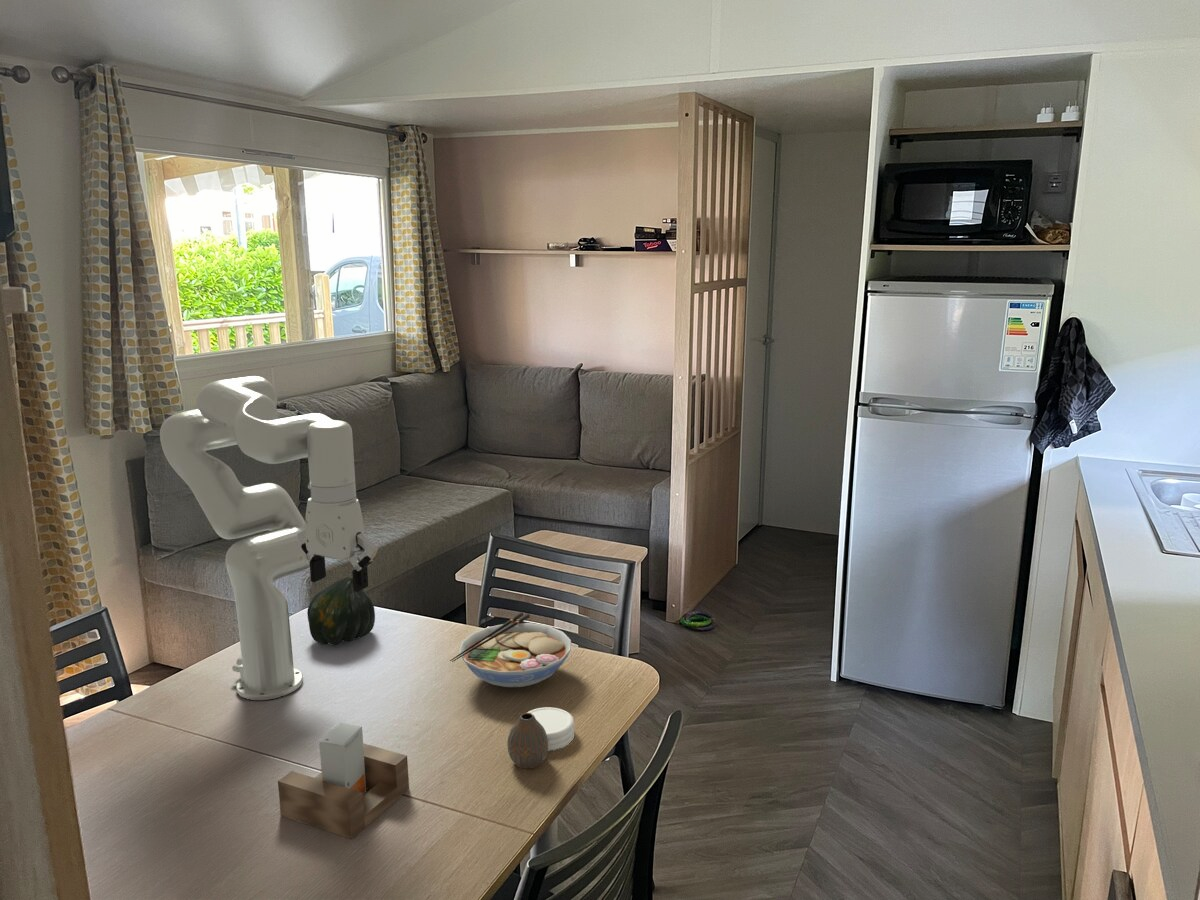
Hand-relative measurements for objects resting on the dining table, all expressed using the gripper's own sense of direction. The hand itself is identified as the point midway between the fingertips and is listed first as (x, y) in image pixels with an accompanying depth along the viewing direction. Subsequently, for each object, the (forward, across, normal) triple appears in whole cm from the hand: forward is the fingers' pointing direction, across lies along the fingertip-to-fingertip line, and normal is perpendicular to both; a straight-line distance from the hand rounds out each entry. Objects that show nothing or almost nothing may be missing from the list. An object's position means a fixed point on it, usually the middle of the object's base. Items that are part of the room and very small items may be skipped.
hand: (339, 584), depth 159 cm
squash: (+29, -27, +29) cm, 49 cm away
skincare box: (+28, +16, -18) cm, 37 cm away
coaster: (+28, +35, +12) cm, 46 cm away
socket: (+28, +16, -18) cm, 37 cm away
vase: (+27, +36, +4) cm, 46 cm away
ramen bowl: (+28, +19, +29) cm, 44 cm away
